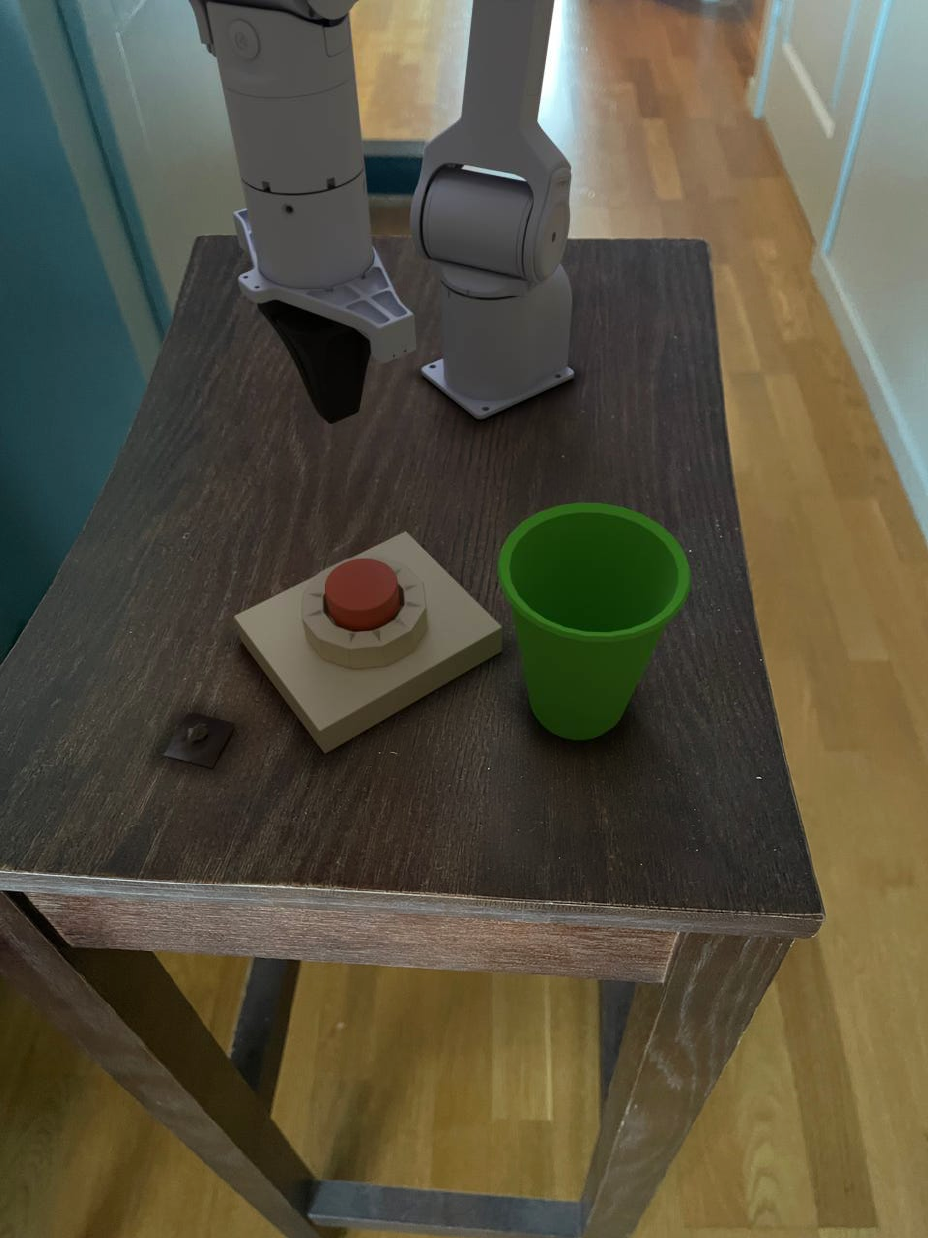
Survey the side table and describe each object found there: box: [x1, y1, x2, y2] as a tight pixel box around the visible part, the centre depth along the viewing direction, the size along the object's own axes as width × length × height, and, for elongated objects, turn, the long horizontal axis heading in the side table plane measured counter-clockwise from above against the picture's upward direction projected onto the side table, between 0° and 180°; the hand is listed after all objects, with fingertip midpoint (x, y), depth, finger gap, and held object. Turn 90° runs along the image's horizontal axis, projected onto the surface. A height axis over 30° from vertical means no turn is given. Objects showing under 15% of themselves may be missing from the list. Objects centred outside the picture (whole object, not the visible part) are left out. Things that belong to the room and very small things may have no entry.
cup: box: [496, 502, 692, 741], centre depth 47 cm, size 9×9×11 cm
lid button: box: [325, 558, 400, 631], centre depth 51 cm, size 4×4×2 cm
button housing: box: [233, 530, 503, 754], centre depth 53 cm, size 12×10×4 cm
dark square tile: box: [163, 712, 236, 769], centre depth 49 cm, size 3×3×1 cm
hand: (338, 412), depth 52 cm, fingers closed
